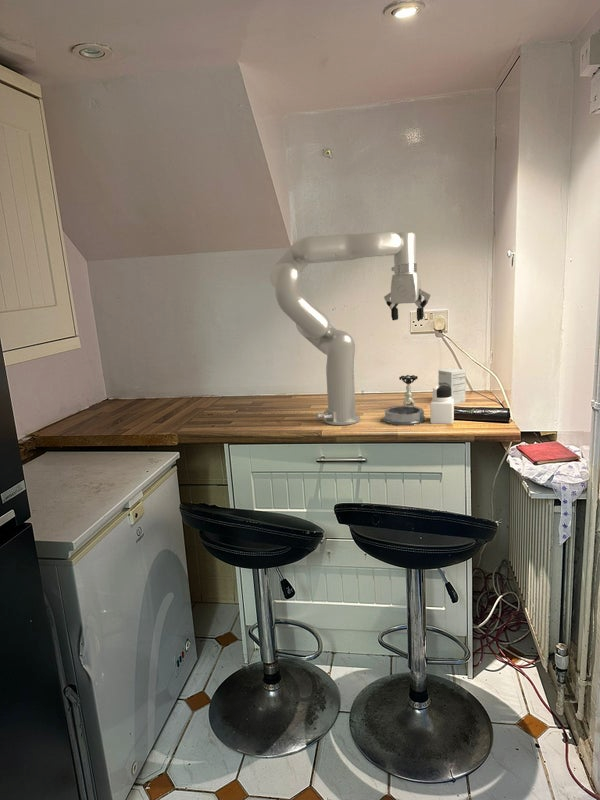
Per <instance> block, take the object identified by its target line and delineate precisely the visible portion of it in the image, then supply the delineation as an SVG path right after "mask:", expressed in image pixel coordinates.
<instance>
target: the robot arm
mask: <svg viewBox="0 0 600 800" xmlns="http://www.w3.org/2000/svg"><path fill="white" fill-rule="evenodd" d="M416 235H417V234H416V233H415V232H414V231H404V232H395V231H379V232H366V233H364V232H363V233H341V234H329V235H327V234H326V235H314V236H313V235H312V236H306V237H302V238H301V237H300V238H298V239H297V240H295V242H294V243H293V244H292V245H291V246H290V247H289V248H288V249H287V251H286V252H284V254H283V255H282V256H281V257H280V258H279V260H278V261H277V262H276V263H275V264H274V265H273V267H272V268H271V270H270V272H269V282H270V283H271V286H273V287H274V291H275V292H274V293H275V298H276V302H277V305H278V306H279V308H280V309H281V310H282V312H283V313H284V314H285V315H286V316H287V317H288V318H289V319H291V321H292V322H293V323H295V327H296V329H297V331H298V332H299V334H300V335H302V336H303V338H305V339H306V340H307V341H309V342H310V343H311V344H312V345H313V346H314V347H315V348H316V349H317V350H319V351H320V352H321V353H323V354H325V355H326V363H325V364H326V365H325V369H326V371H325V374H326V377H325V378H326V388H327V389H326V393H327V408H325V411H323V412H318V413H315V419H317V420H321V419H323V421H324V423H325V424H327V425H333V426H347V425H353V424H357V423H358V422H360V421H361V416H360V414H359V415H358V414H356V396H355V395H356V393H355V392H356V391H355V370H354V368H355V355H356V354H355V353H356V343H355V340H354V338H353V337H352V335H351V334H350V333H348V332H347V331H344V330H342V329H341V330H340V329H336V328H335V327H334V326H333V325H332V324H331V322H330V320H329V318H328V315H326V314H325V313H324V312H323V311H321V310H320V309H319V308H318V307H317V306H315V305H314V304H313V303H312V302H311V300H309V299H308V298H307V297H306V296H305V295H304V294H303V292H302V290H301V278H302V277H301V273H302V272H303V271H304V270H305V269H306V267H308V265H309V264H318V263H330V262H331V263H332V262H345V261H352V260H353V261H355V260H358V259H363V258H373V257H387V256H389V257H390V256H393V263H394V264H393V267H391V271H392V272H393V273H394V274H392V275H391V282H390V292H389V293H386V295H384V296H383V299H384V301H385V303H386V305H387V306H388V307H389V309H390V311H391V313H390V315H391V319H392V321H397V320H398V319H399V309H398V306H399V304H415V305H416V306H417V308H416V321H420V320H421V321H422V320H423V319H424V315H425V314H424V313H425V312H424V311H425V310H424V308H425V307H426V305H427V304H428V302H429V300H430V297H431V294H430V293H428V292H426V291H424V290H422V283H421V277H420V273H419V272H418V267H417V266H418V265H417V263H418V262H417V237H416ZM423 297H424V298H423ZM422 298H423V300H422Z"/></svg>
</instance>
